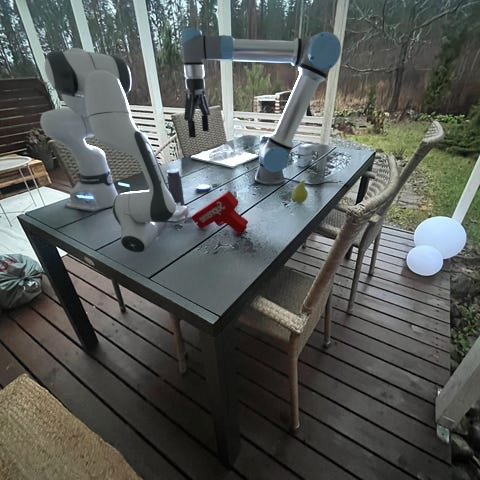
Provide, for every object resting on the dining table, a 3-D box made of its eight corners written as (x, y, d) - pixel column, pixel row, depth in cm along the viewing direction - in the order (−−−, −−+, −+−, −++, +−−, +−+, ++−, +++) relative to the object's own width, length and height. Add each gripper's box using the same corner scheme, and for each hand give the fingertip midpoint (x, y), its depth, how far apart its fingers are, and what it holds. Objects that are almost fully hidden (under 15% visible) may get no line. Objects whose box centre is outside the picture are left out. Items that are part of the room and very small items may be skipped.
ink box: (304, 162, 171) (306, 143, 164) (310, 164, 168) (313, 144, 161) (296, 165, 166) (298, 145, 159) (302, 167, 163) (305, 147, 156)
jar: (169, 207, 118) (163, 171, 109) (177, 202, 122) (172, 167, 113) (178, 210, 116) (173, 174, 107) (187, 205, 120) (182, 170, 111)
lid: (212, 190, 134) (212, 186, 133) (203, 194, 130) (202, 190, 129) (203, 187, 137) (203, 183, 136) (194, 190, 133) (193, 187, 132)
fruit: (288, 200, 123) (290, 174, 116) (302, 197, 125) (305, 172, 119) (296, 206, 118) (299, 179, 111) (310, 203, 120) (314, 177, 114)
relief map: (232, 167, 162) (232, 159, 160) (191, 158, 180) (190, 150, 177) (257, 157, 181) (258, 149, 178) (218, 149, 198) (217, 142, 196)
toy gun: (254, 223, 98) (229, 189, 94) (251, 228, 95) (225, 194, 91) (219, 242, 108) (195, 212, 104) (215, 247, 105) (190, 217, 101)
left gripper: (180, 213, 92) (192, 197, 103) (123, 210, 94) (141, 195, 105) (183, 229, 95) (193, 212, 107) (128, 226, 97) (144, 209, 109)
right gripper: (199, 76, 119) (203, 128, 130) (170, 79, 99) (178, 139, 110) (215, 76, 117) (217, 129, 128) (189, 79, 97) (194, 140, 108)
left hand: (167, 203), depth 106 cm, fingers open, 8 cm apart
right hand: (199, 134), depth 119 cm, fingers open, 13 cm apart
